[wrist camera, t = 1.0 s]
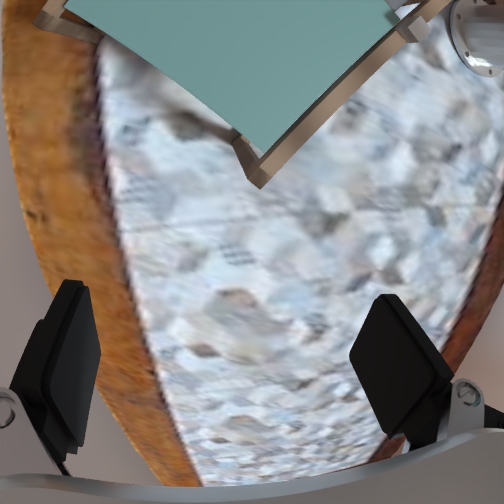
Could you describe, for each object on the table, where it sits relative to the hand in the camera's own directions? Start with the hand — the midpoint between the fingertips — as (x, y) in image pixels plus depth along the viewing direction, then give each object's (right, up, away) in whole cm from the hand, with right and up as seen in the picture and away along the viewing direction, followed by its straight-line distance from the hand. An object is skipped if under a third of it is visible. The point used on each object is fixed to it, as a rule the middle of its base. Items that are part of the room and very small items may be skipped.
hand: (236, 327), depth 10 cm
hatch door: (+1, +25, +11) cm, 27 cm away
